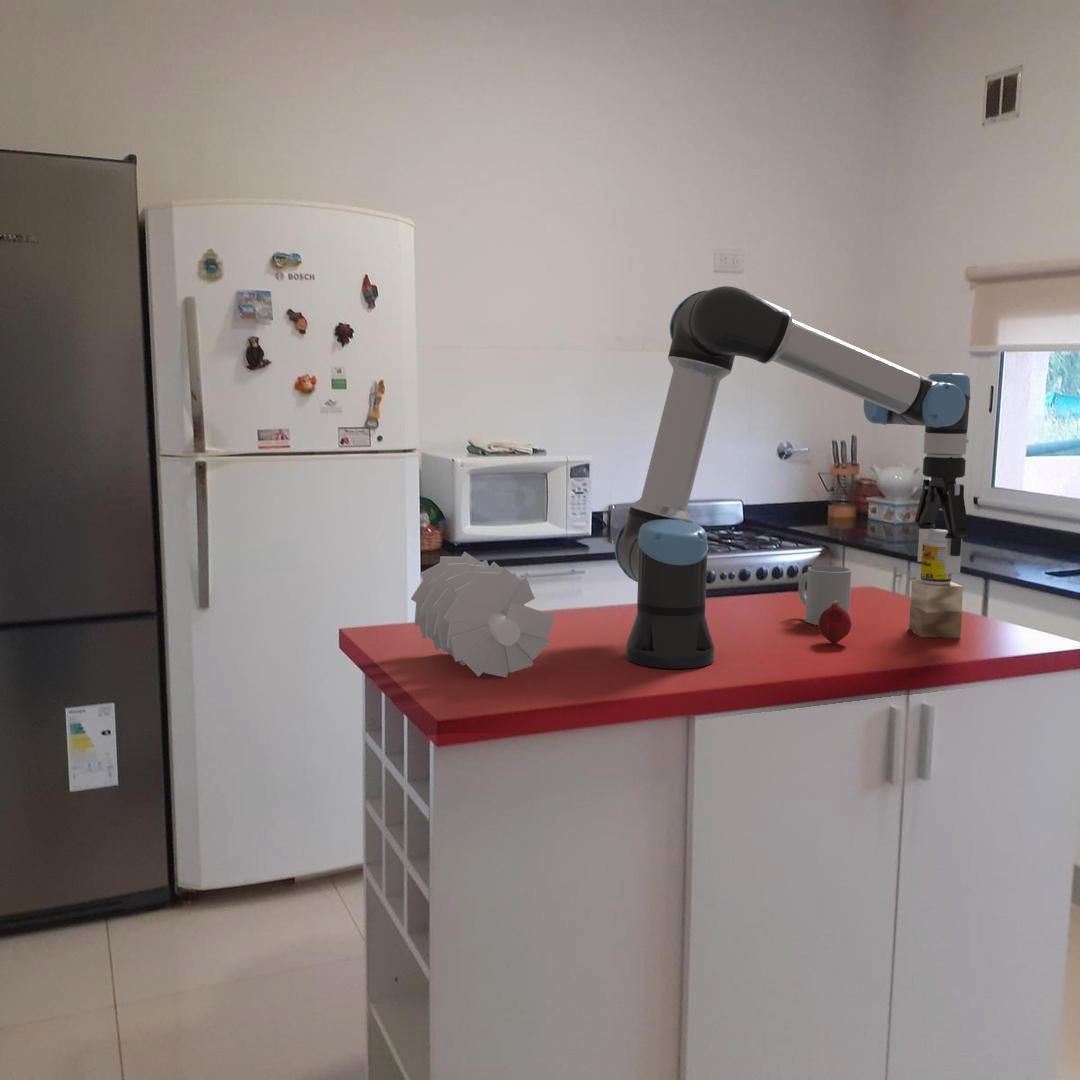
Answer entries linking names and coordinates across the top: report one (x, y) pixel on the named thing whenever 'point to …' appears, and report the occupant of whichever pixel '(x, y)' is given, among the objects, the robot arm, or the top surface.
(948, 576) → the supplement bottle
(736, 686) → the top surface
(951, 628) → the bottom block
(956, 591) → the top block
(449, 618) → the spiral staircase
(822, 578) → the mug
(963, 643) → the top surface
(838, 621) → the onion
